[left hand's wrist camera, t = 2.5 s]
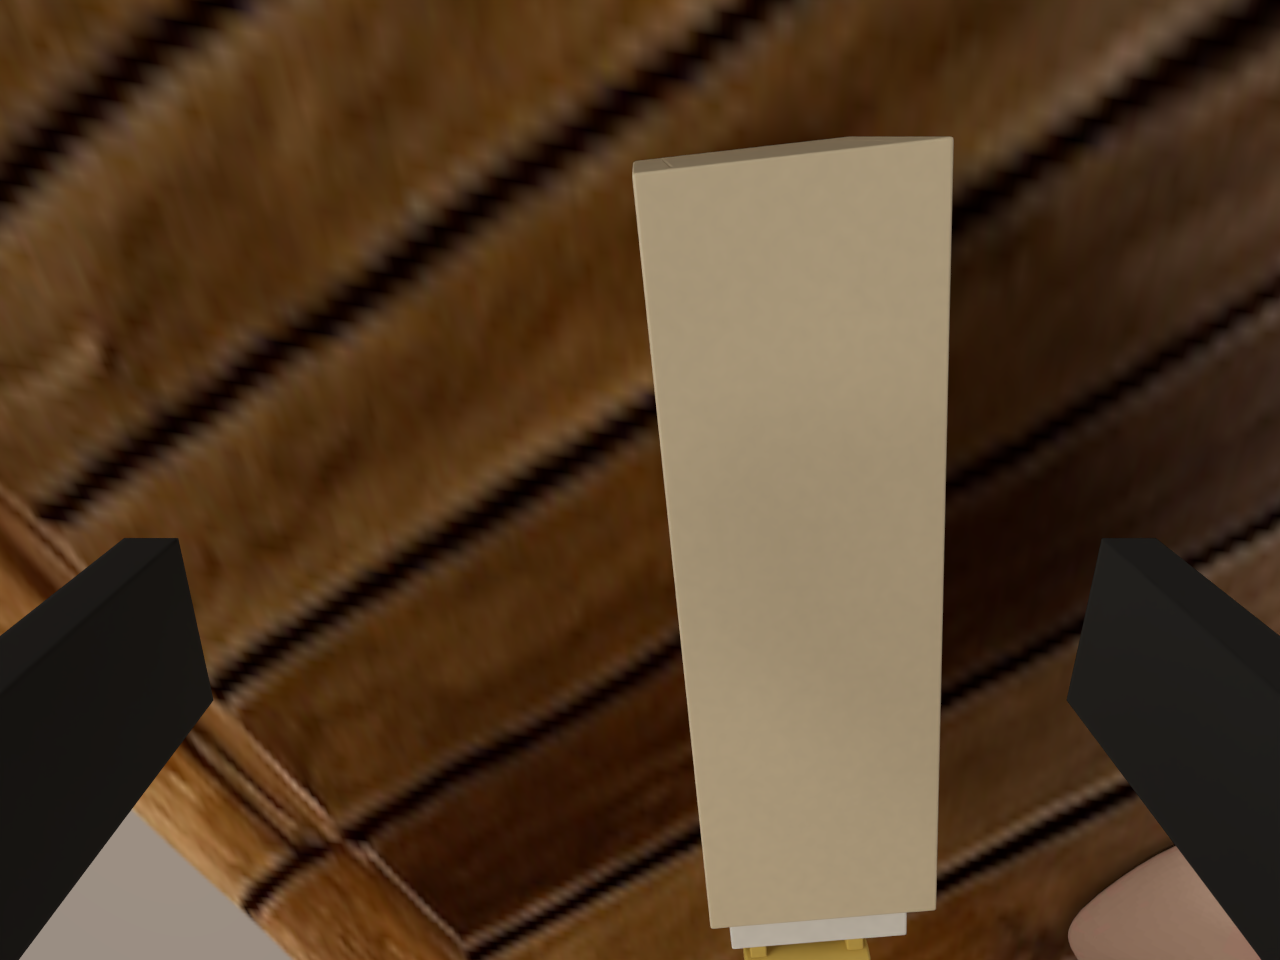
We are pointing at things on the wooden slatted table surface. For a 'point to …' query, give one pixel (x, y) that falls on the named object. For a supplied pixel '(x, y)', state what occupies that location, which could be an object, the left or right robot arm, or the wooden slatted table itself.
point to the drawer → (816, 938)
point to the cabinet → (806, 509)
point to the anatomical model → (1157, 918)
